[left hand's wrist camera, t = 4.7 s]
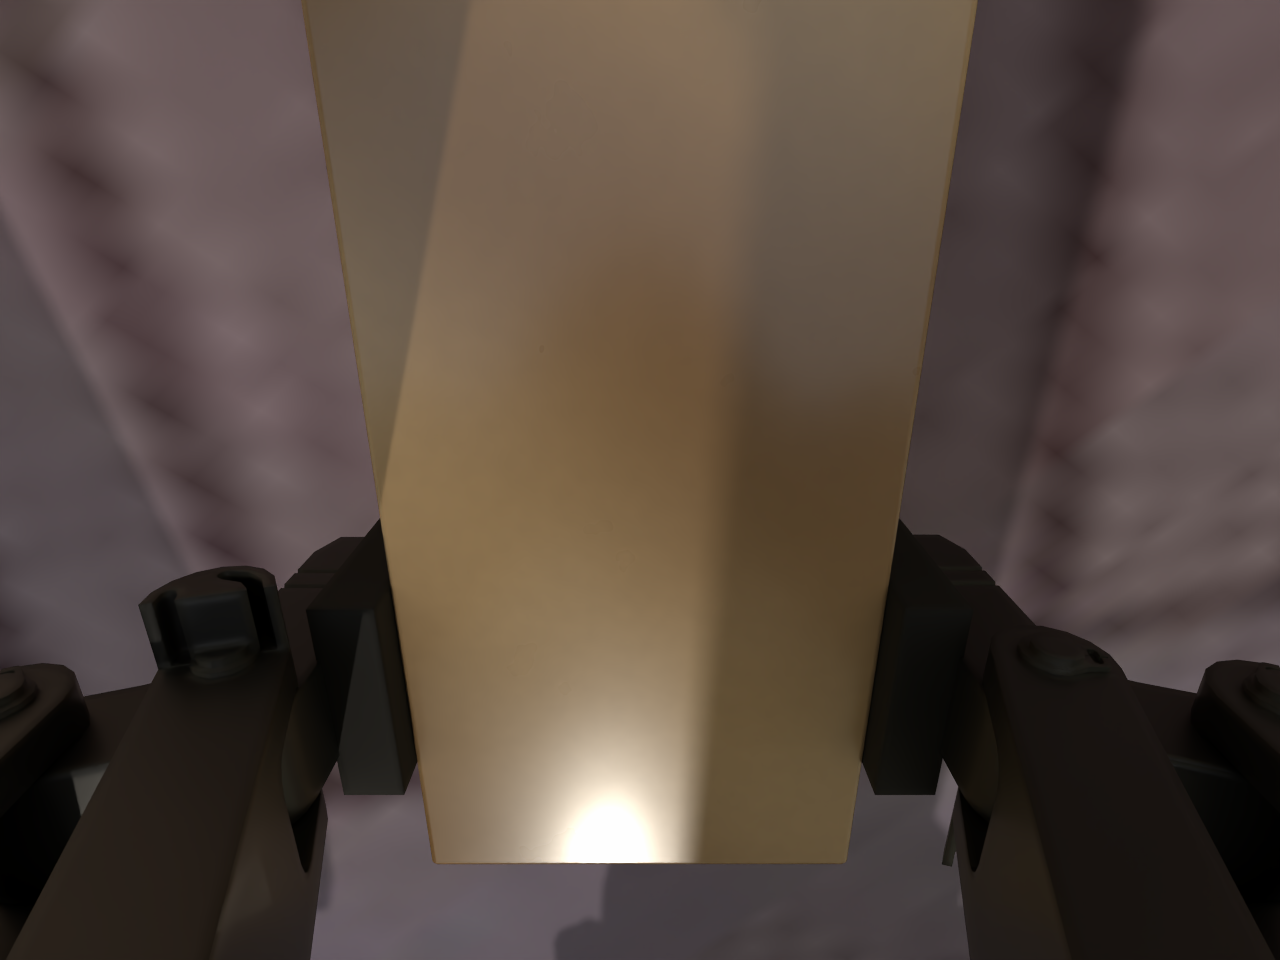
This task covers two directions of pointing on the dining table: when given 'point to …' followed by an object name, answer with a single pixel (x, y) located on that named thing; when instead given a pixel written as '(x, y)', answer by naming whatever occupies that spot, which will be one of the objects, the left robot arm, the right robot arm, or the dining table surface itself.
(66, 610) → the dining table surface
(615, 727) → the brass rectangular prism
